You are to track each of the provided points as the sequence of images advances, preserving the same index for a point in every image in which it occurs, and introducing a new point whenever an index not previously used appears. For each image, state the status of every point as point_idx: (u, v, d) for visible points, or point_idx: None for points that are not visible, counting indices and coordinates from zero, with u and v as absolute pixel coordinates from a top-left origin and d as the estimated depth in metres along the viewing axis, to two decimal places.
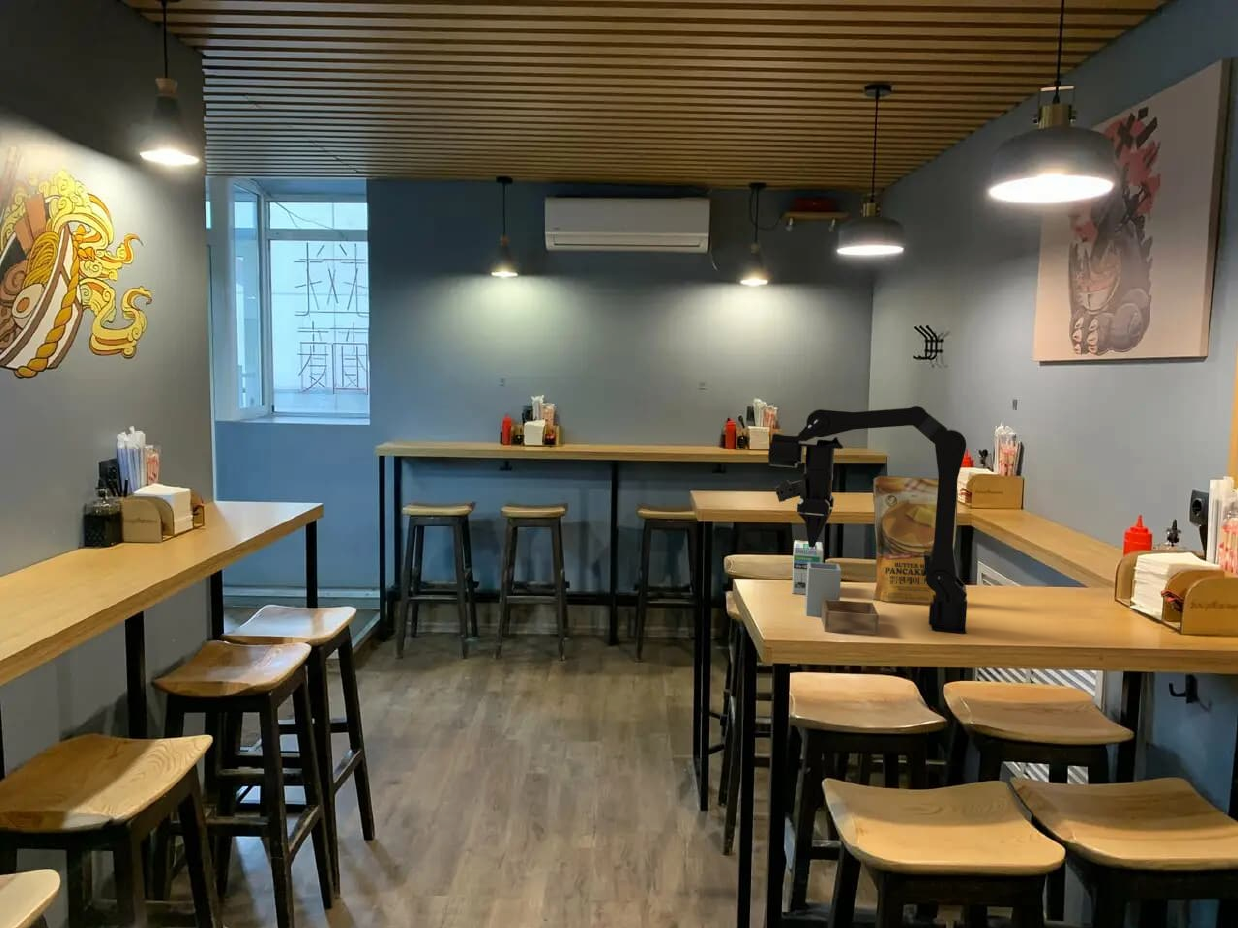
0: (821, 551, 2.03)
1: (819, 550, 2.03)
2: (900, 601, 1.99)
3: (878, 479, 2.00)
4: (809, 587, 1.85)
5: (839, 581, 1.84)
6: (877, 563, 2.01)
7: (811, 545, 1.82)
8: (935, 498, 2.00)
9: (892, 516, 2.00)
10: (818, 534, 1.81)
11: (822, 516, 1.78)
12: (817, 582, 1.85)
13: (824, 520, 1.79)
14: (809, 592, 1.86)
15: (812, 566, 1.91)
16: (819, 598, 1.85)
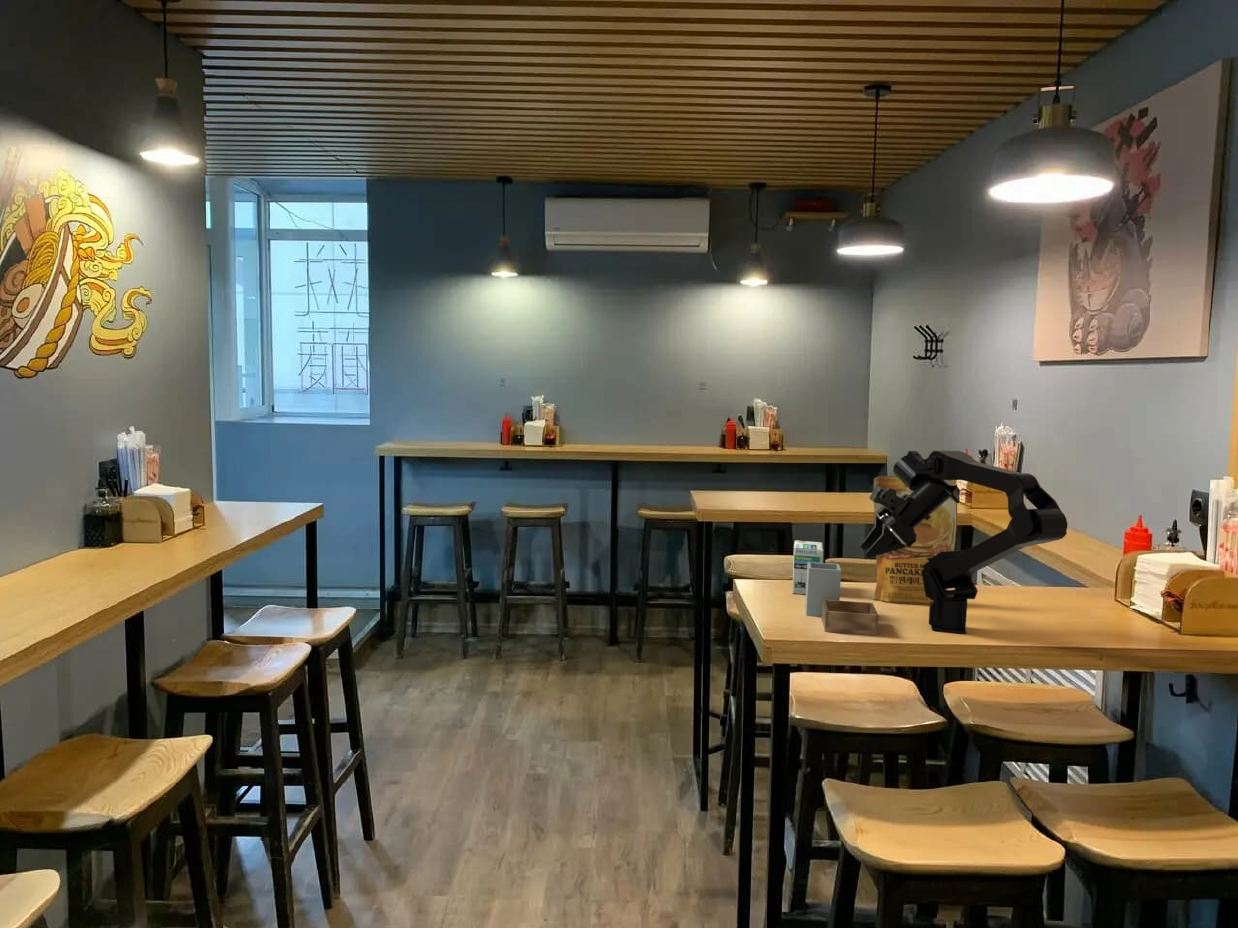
0: (821, 551, 2.03)
1: (819, 550, 2.03)
2: (900, 601, 1.99)
3: (878, 479, 2.00)
4: (809, 587, 1.85)
5: (839, 581, 1.84)
6: (877, 563, 2.01)
7: (868, 555, 1.81)
8: None
9: None
10: (882, 552, 1.80)
11: (901, 544, 1.77)
12: (817, 582, 1.85)
13: (898, 547, 1.78)
14: (809, 592, 1.86)
15: (812, 566, 1.91)
16: (819, 598, 1.85)
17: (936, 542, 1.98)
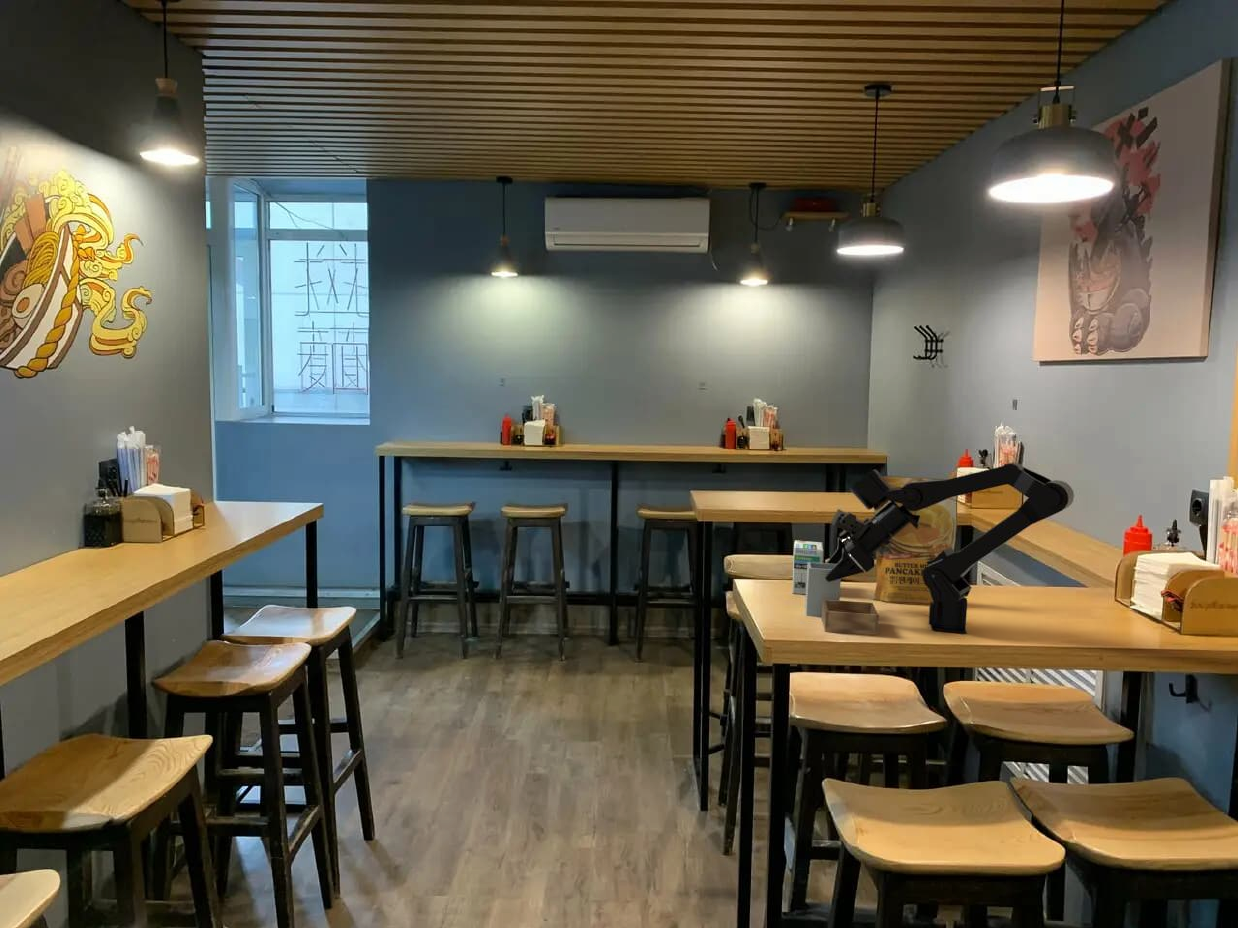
0: (821, 551, 2.03)
1: (819, 550, 2.03)
2: (900, 601, 1.99)
3: None
4: (809, 587, 1.85)
5: (839, 581, 1.84)
6: (877, 563, 2.01)
7: (828, 579, 1.83)
8: None
9: None
10: (841, 576, 1.82)
11: (860, 569, 1.79)
12: (817, 582, 1.85)
13: (857, 572, 1.80)
14: (809, 592, 1.86)
15: (812, 566, 1.91)
16: (819, 598, 1.85)
17: (936, 542, 1.98)
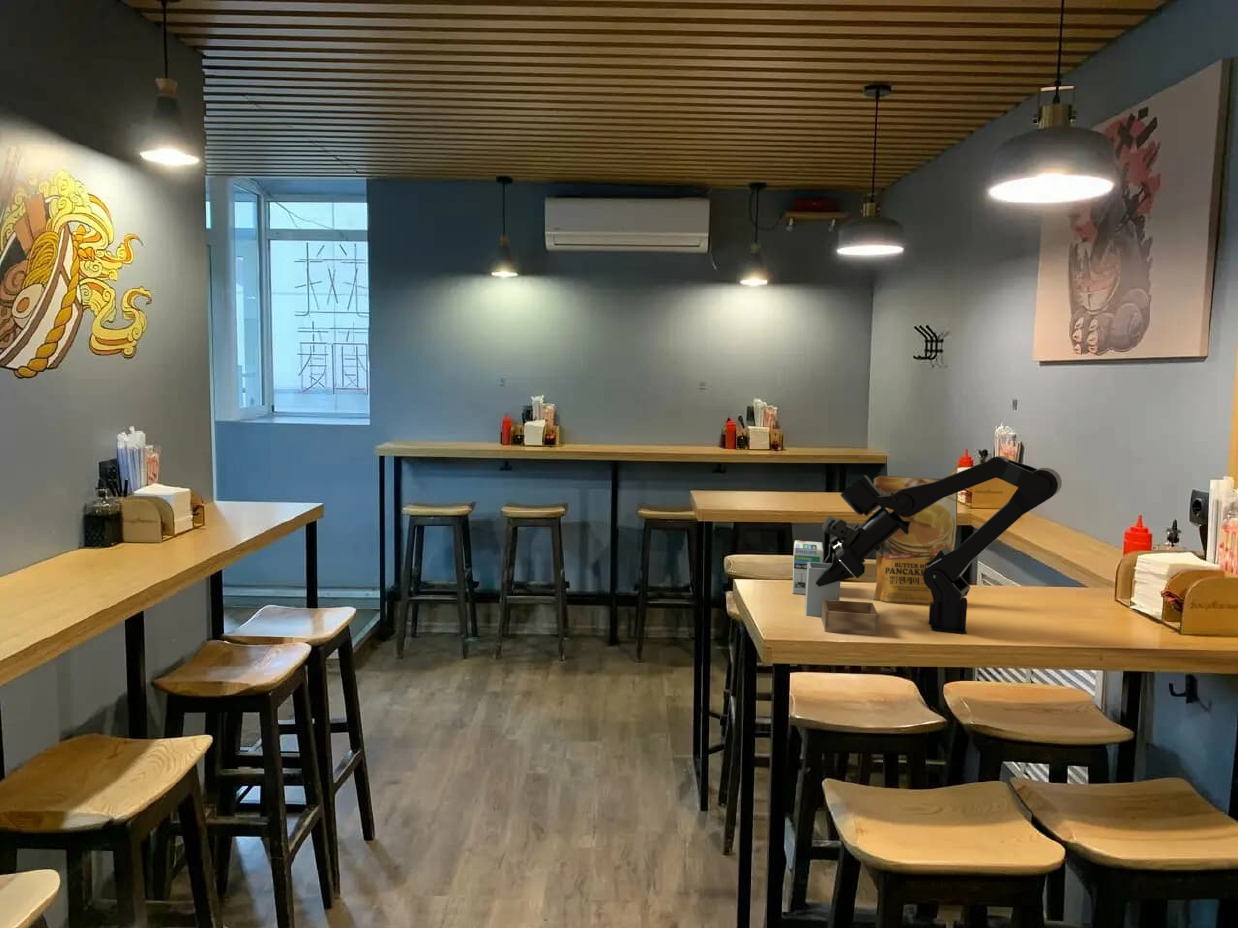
0: (821, 551, 2.03)
1: (819, 550, 2.03)
2: (900, 601, 1.99)
3: (878, 479, 2.00)
4: (809, 587, 1.85)
5: (839, 581, 1.84)
6: (877, 563, 2.01)
7: (818, 584, 1.85)
8: None
9: None
10: (832, 581, 1.83)
11: (850, 573, 1.80)
12: None
13: (847, 576, 1.82)
14: (809, 592, 1.86)
15: (812, 566, 1.91)
16: (819, 598, 1.85)
17: (936, 542, 1.98)
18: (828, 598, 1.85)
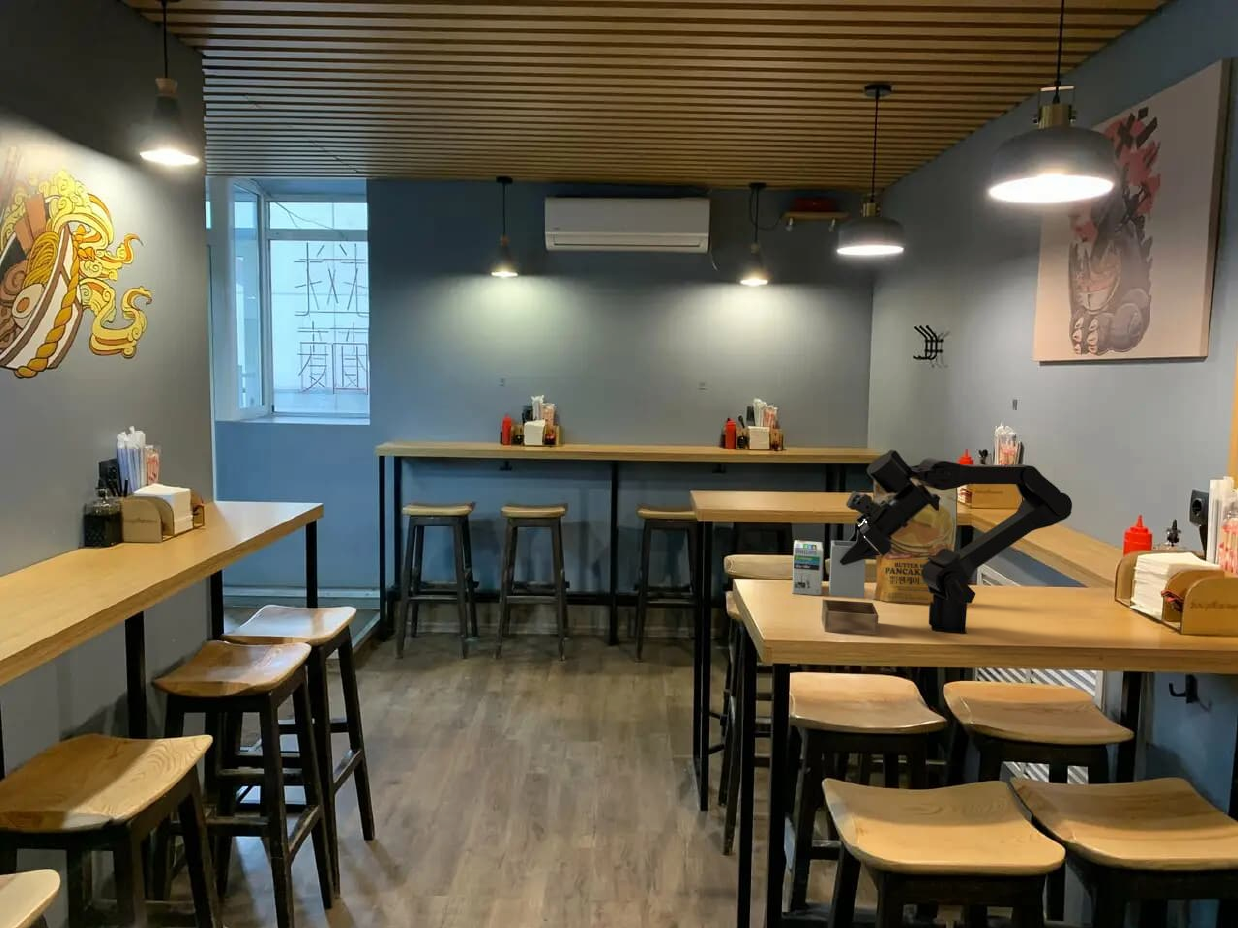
0: (821, 551, 2.03)
1: (819, 550, 2.03)
2: (900, 601, 1.99)
3: None
4: (832, 566, 1.77)
5: (864, 559, 1.75)
6: (877, 563, 2.01)
7: (842, 562, 1.76)
8: None
9: None
10: (856, 559, 1.75)
11: (875, 551, 1.71)
12: None
13: (873, 554, 1.73)
14: (832, 571, 1.77)
15: (836, 544, 1.82)
16: (843, 577, 1.77)
17: (936, 542, 1.98)
18: (853, 577, 1.76)
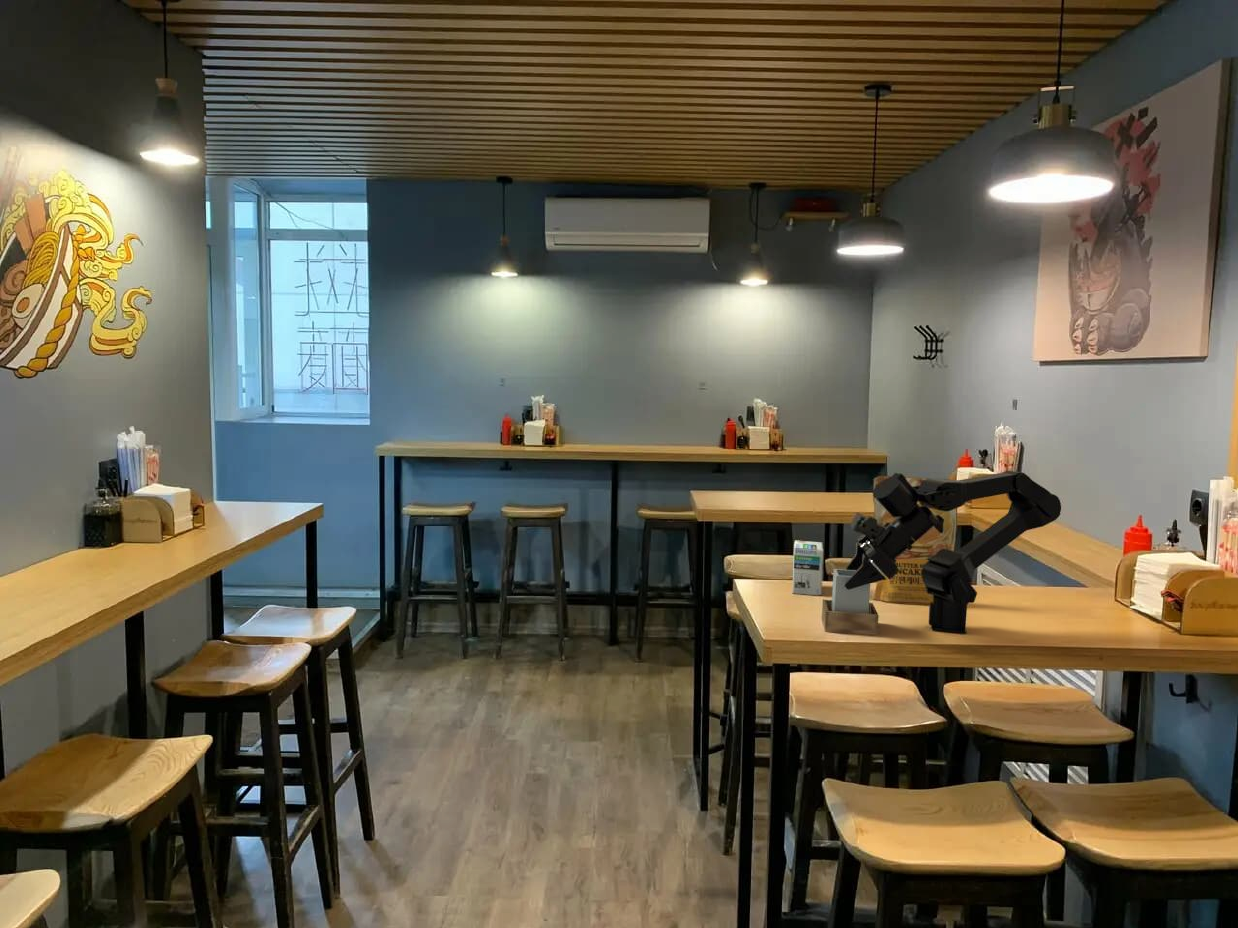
0: (821, 551, 2.03)
1: (819, 550, 2.03)
2: (900, 601, 1.99)
3: (878, 479, 2.00)
4: (836, 596, 1.75)
5: (868, 589, 1.74)
6: None
7: (847, 586, 1.73)
8: None
9: (892, 516, 2.00)
10: (862, 584, 1.72)
11: (882, 576, 1.69)
12: (845, 590, 1.75)
13: (879, 579, 1.70)
14: (836, 601, 1.75)
15: (839, 573, 1.81)
16: (847, 607, 1.75)
17: (936, 542, 1.98)
18: (857, 607, 1.75)
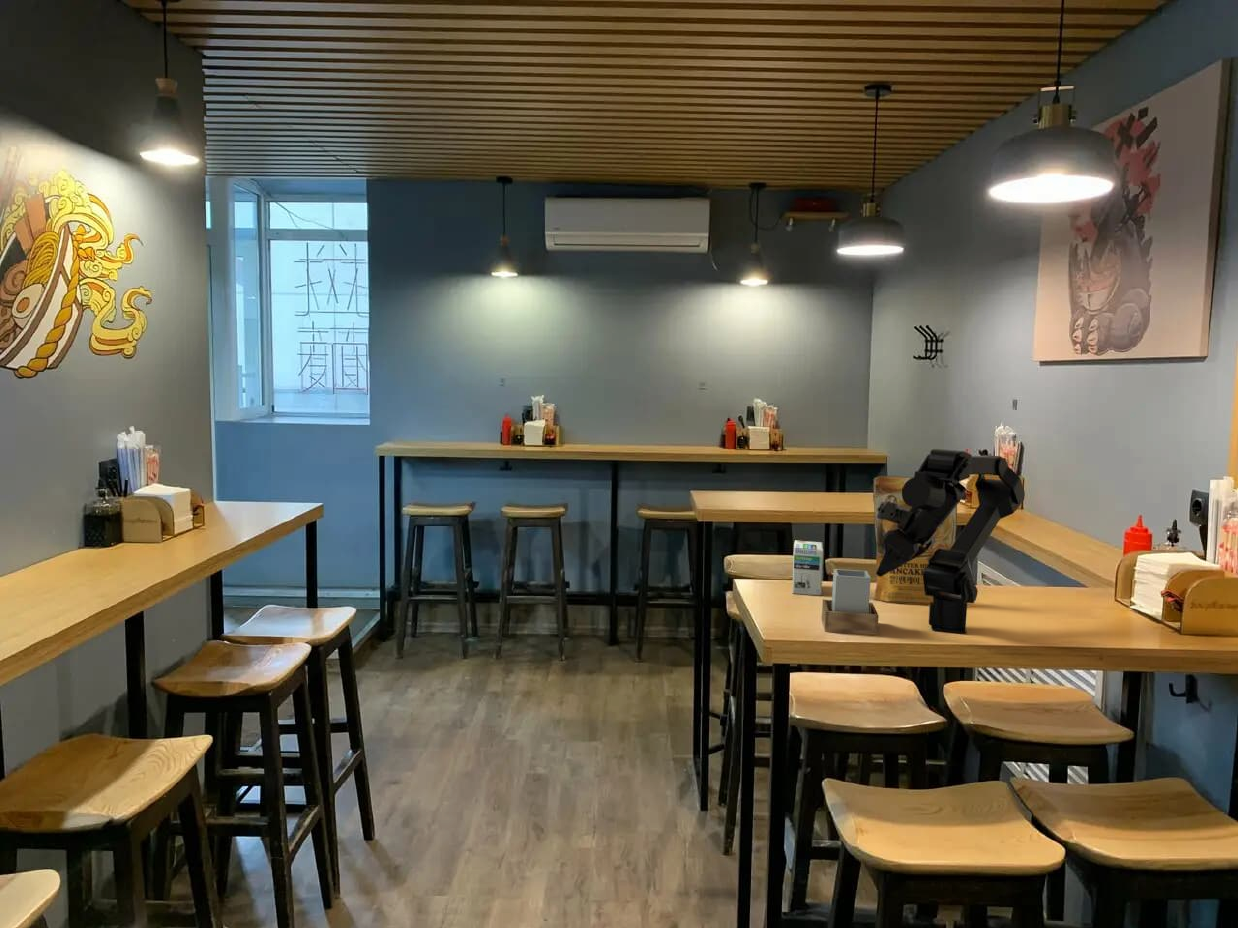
0: (821, 551, 2.03)
1: (819, 550, 2.03)
2: (900, 601, 1.99)
3: (878, 479, 2.00)
4: (836, 596, 1.75)
5: (868, 589, 1.74)
6: (877, 563, 2.01)
7: (878, 574, 1.75)
8: None
9: None
10: (890, 569, 1.73)
11: (902, 557, 1.69)
12: (845, 590, 1.75)
13: (903, 561, 1.71)
14: (836, 601, 1.75)
15: (839, 573, 1.81)
16: (847, 607, 1.75)
17: (936, 542, 1.99)
18: (857, 607, 1.75)
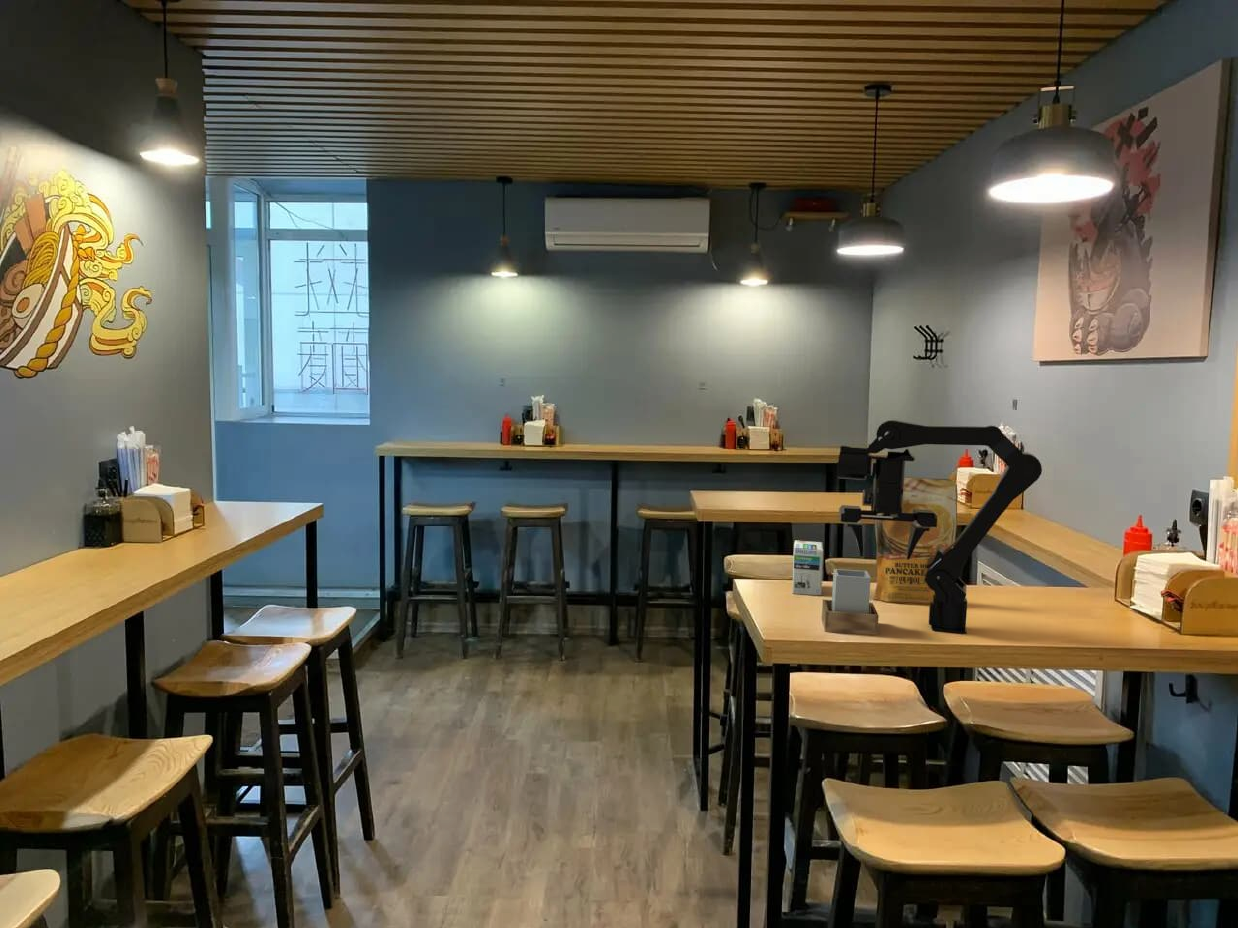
0: (821, 551, 2.03)
1: (819, 550, 2.03)
2: (900, 601, 1.99)
3: None
4: (836, 596, 1.75)
5: (868, 589, 1.74)
6: (877, 563, 2.01)
7: None
8: (935, 498, 2.00)
9: None
10: (857, 543, 1.82)
11: (847, 524, 1.82)
12: (845, 590, 1.75)
13: None
14: (836, 601, 1.75)
15: (839, 573, 1.81)
16: (847, 607, 1.75)
17: (936, 542, 1.98)
18: (857, 607, 1.75)
